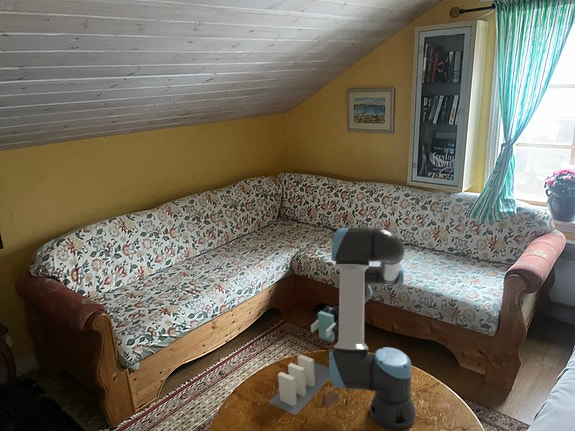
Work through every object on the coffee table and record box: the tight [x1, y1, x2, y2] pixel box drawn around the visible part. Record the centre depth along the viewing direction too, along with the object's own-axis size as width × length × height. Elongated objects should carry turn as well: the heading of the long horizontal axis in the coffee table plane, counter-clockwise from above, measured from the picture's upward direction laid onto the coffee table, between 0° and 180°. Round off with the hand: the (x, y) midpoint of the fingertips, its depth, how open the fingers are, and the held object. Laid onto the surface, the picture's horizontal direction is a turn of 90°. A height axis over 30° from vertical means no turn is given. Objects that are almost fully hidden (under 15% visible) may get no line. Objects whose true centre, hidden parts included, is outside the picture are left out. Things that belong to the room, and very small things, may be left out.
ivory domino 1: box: [277, 371, 297, 406], centre depth 163 cm, size 6×2×11 cm, turn 54°
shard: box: [321, 388, 343, 408], centre depth 164 cm, size 11×8×2 cm
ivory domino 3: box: [297, 354, 315, 387], centre depth 172 cm, size 6×2×11 cm, turn 54°
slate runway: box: [268, 361, 331, 416], centre depth 172 cm, size 12×28×1 cm, turn 144°
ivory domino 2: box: [287, 362, 306, 396], centre depth 167 cm, size 6×2×11 cm, turn 54°
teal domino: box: [317, 310, 335, 343], centre depth 180 cm, size 6×2×11 cm, turn 54°
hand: (319, 331), depth 176 cm, fingers closed on teal domino, 6 cm apart
